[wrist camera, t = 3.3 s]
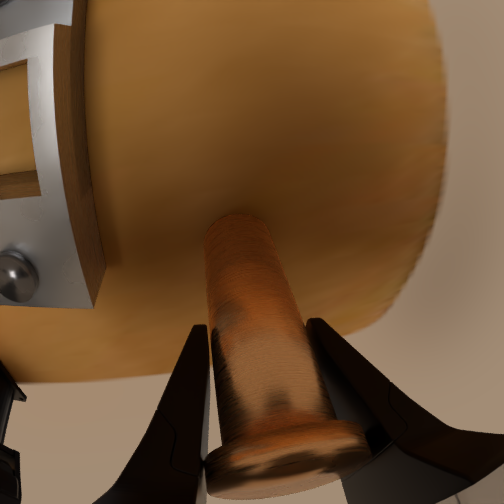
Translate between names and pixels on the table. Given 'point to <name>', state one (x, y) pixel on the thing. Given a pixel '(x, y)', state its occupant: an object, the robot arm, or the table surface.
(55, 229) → the slotted metal plate
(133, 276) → the table surface
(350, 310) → the table surface
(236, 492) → the pin
